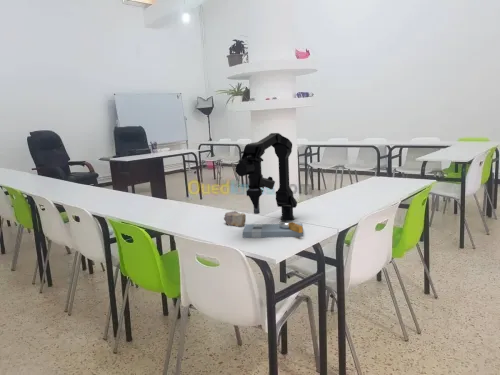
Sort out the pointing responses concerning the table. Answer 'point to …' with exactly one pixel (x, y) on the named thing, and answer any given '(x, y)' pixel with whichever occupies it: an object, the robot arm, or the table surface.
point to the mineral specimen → (235, 218)
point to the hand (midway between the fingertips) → (256, 207)
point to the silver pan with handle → (290, 226)
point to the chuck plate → (269, 231)
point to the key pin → (257, 211)
